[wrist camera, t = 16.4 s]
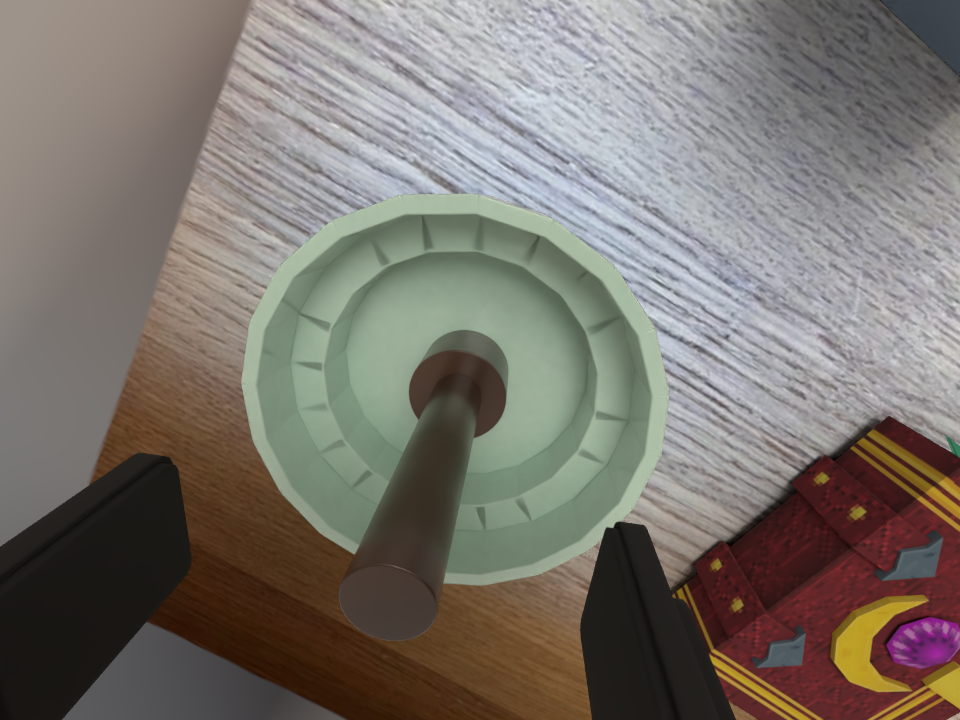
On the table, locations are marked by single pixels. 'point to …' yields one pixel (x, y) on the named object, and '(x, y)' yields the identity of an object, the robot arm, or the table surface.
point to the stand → (933, 25)
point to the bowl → (404, 342)
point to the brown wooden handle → (425, 489)
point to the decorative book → (844, 590)
